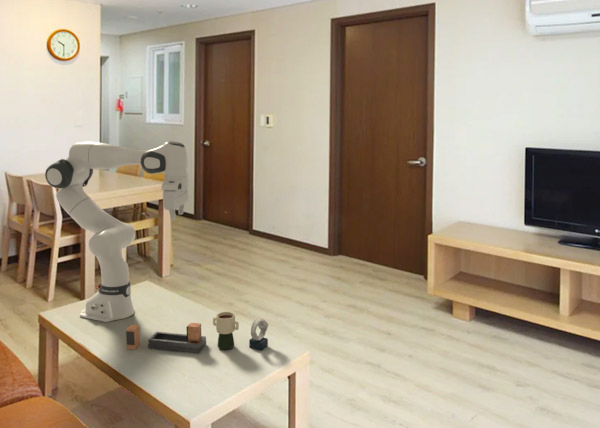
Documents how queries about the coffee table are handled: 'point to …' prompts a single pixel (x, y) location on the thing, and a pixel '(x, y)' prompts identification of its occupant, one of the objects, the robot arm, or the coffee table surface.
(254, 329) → the watch
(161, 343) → the dark grey tray
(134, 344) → the orange block
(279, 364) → the coffee table surface
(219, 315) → the character mug
